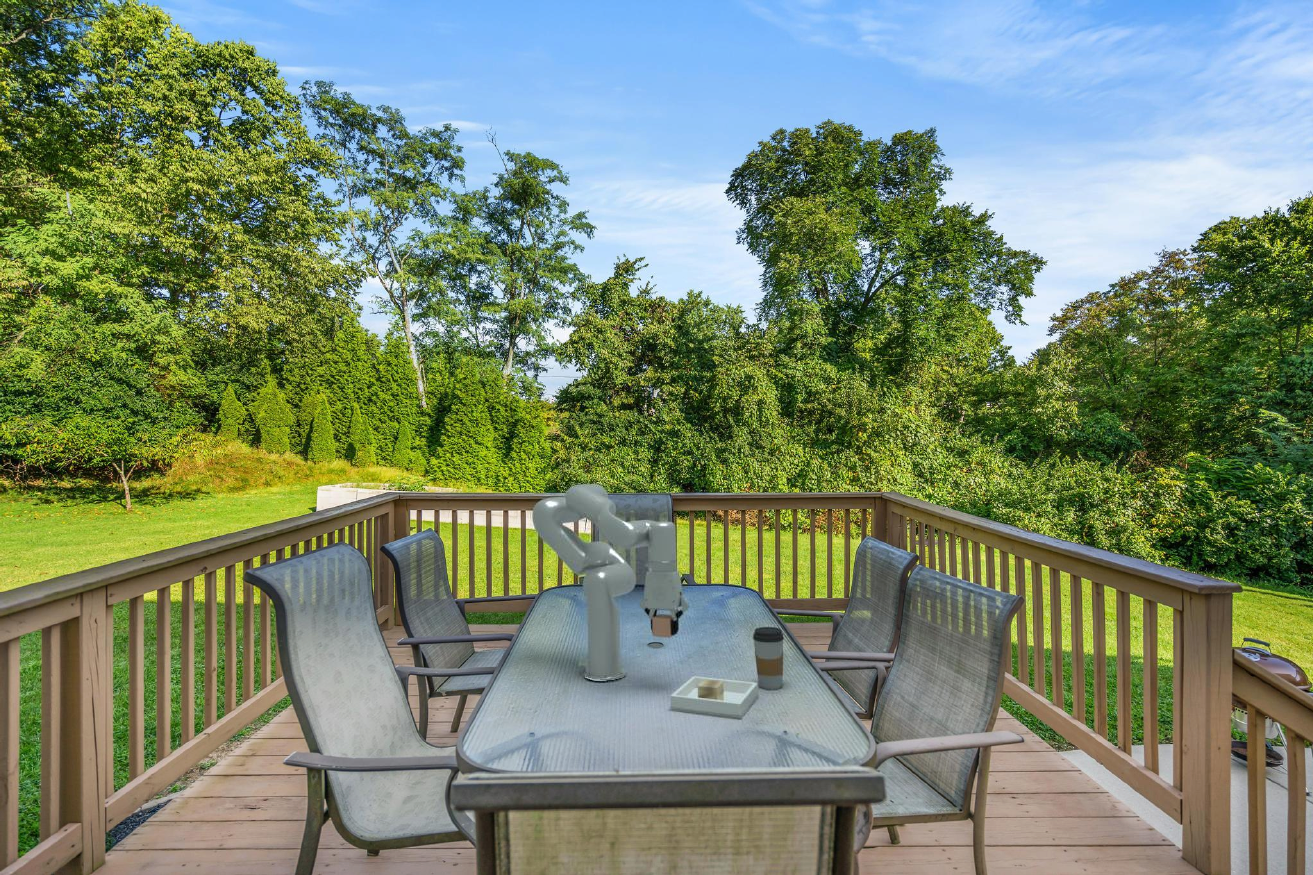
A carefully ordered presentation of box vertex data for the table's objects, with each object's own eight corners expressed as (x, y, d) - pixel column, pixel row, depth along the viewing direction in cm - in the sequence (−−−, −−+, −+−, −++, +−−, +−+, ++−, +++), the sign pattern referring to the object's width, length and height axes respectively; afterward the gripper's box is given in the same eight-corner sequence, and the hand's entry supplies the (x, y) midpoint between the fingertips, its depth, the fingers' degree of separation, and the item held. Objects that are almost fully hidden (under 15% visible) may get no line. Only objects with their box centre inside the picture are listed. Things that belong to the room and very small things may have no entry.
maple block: (698, 706, 155) (697, 685, 155) (705, 699, 159) (704, 679, 160) (717, 708, 153) (716, 687, 153) (723, 701, 157) (723, 681, 157)
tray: (670, 710, 155) (670, 695, 155) (693, 689, 170) (693, 676, 170) (740, 719, 148) (740, 704, 148) (758, 696, 162) (757, 682, 162)
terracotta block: (652, 636, 170) (652, 617, 171) (660, 631, 175) (659, 613, 175) (669, 637, 168) (669, 618, 169) (676, 633, 173) (676, 614, 173)
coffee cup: (786, 691, 165) (783, 634, 166) (754, 690, 167) (751, 633, 168) (786, 681, 173) (783, 626, 174) (755, 680, 175) (753, 626, 176)
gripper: (629, 567, 173) (631, 634, 172) (686, 569, 166) (688, 639, 165) (641, 563, 180) (642, 627, 178) (696, 565, 173) (698, 632, 172)
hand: (664, 632), depth 172 cm, fingers closed on terracotta block, 5 cm apart
